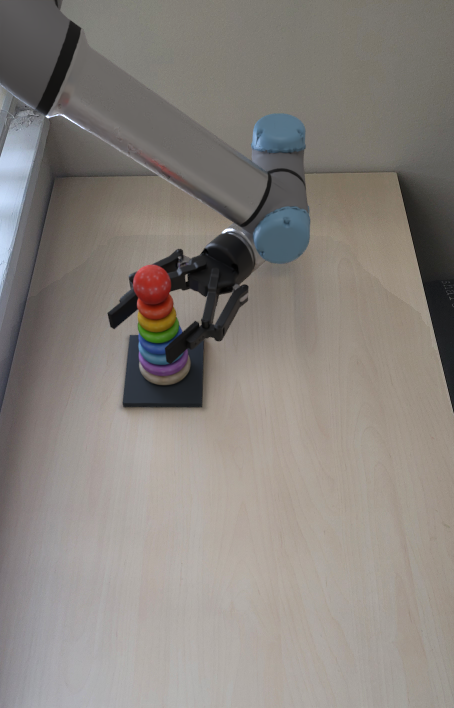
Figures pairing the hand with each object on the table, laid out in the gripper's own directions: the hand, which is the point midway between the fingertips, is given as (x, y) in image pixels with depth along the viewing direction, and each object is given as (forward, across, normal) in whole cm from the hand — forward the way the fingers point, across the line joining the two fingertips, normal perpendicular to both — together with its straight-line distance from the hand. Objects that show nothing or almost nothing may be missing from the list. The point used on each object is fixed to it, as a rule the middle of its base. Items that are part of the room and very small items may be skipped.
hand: (138, 338), depth 90 cm
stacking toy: (-4, 0, -10) cm, 11 cm away
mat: (-4, 0, -11) cm, 12 cm away
